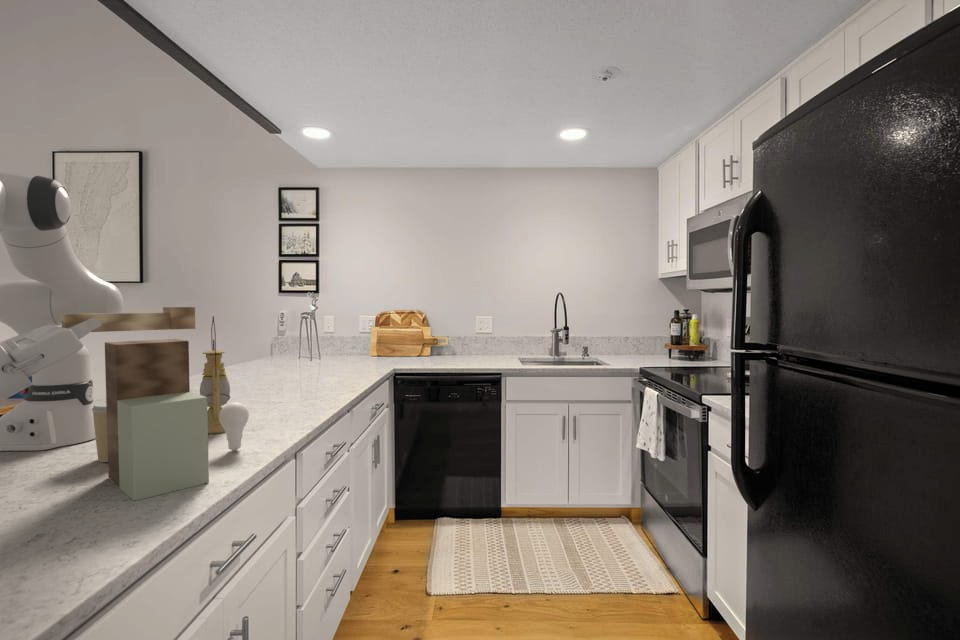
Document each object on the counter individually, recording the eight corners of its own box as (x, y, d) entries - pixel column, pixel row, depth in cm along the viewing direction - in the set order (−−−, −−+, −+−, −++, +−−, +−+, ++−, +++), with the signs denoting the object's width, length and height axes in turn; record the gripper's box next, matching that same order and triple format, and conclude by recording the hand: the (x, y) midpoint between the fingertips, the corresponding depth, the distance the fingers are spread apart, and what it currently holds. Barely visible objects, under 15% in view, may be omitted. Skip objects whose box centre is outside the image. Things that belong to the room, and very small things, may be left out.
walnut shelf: (119, 488, 94) (115, 344, 93) (108, 478, 100) (104, 342, 99) (191, 471, 103) (188, 340, 102) (177, 463, 109) (174, 339, 108)
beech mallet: (66, 333, 83) (65, 308, 83) (61, 332, 86) (60, 307, 86) (195, 328, 97) (195, 307, 97) (186, 327, 100) (186, 307, 100)
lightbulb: (237, 455, 114) (236, 405, 114) (213, 454, 115) (212, 404, 115) (255, 447, 120) (254, 400, 120) (231, 446, 121) (230, 399, 121)
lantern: (192, 427, 140) (189, 315, 139) (232, 423, 145) (230, 315, 144) (194, 437, 129) (191, 316, 128) (237, 432, 134) (235, 316, 133)
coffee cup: (140, 449, 119) (139, 397, 119) (150, 457, 113) (149, 402, 112) (89, 457, 113) (88, 402, 112) (97, 467, 106) (96, 408, 106)
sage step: (133, 500, 88) (131, 407, 88) (119, 488, 94) (117, 400, 94) (208, 482, 97) (207, 397, 96) (191, 472, 103) (189, 391, 103)
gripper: (-9, 354, 71) (98, 303, 79) (-21, 346, 84) (71, 303, 93) (24, 392, 73) (123, 338, 82) (6, 378, 87) (93, 333, 95)
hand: (95, 320), depth 87 cm, fingers closed on beech mallet, 3 cm apart
